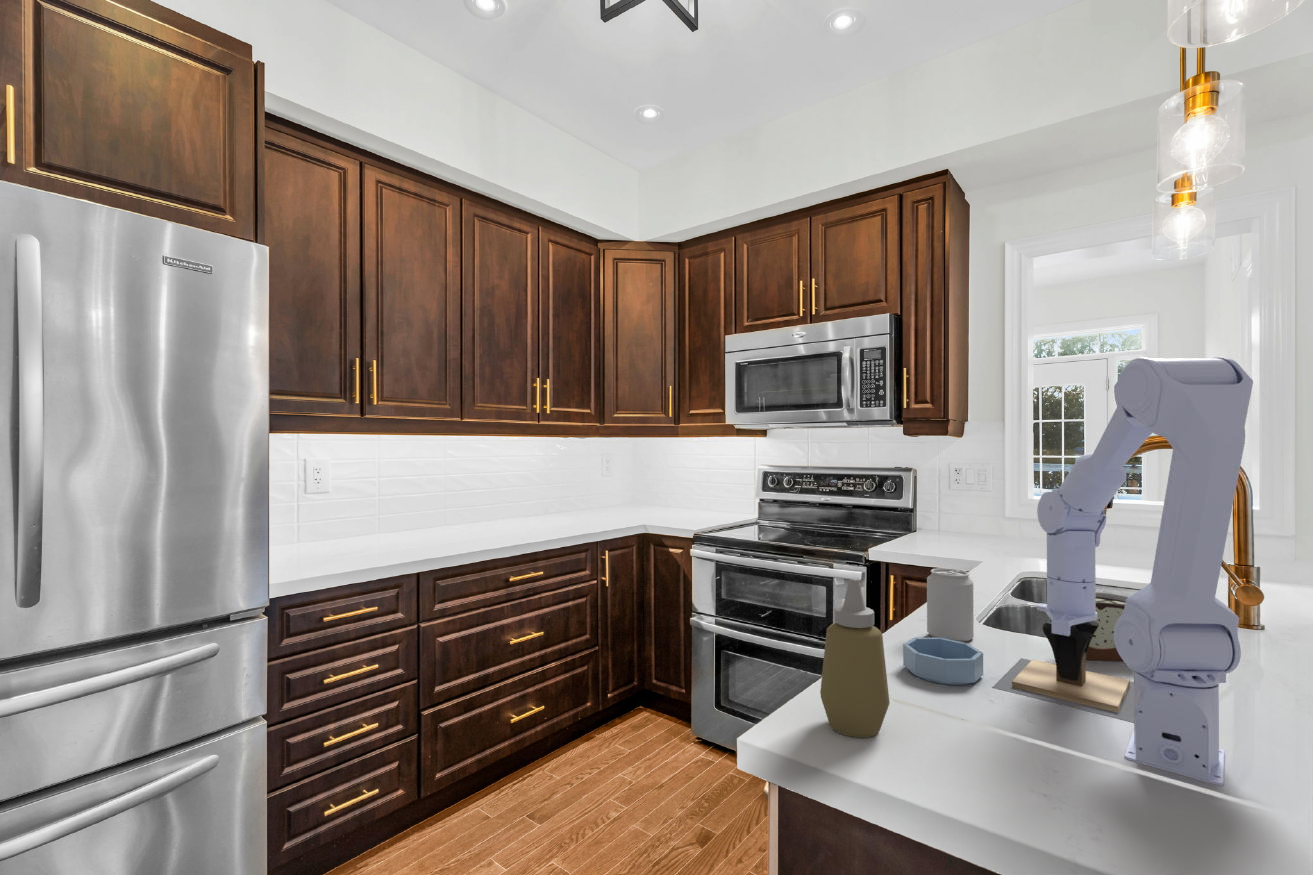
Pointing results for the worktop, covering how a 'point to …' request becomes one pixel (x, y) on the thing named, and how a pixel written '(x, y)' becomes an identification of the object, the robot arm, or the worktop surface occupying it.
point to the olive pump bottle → (854, 669)
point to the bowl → (943, 660)
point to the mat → (1123, 714)
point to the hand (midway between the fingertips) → (1071, 674)
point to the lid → (1073, 685)
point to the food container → (1106, 628)
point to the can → (950, 605)
